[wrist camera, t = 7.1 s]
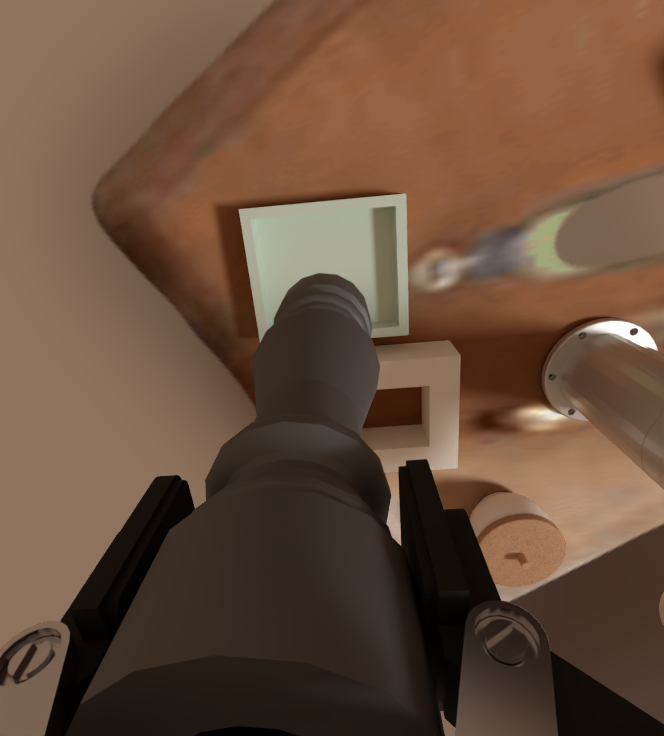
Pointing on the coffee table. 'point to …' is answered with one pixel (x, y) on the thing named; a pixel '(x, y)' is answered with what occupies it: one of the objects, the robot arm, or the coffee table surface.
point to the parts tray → (331, 254)
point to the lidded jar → (517, 539)
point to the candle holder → (281, 566)
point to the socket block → (439, 405)
